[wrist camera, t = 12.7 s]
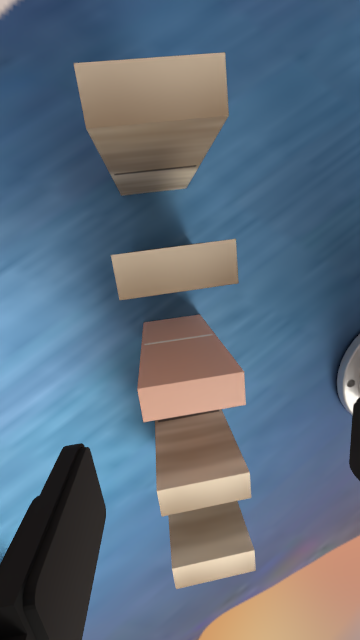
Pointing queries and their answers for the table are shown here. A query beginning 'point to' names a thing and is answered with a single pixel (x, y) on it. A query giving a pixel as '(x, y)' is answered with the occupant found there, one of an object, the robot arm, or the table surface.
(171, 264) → the tile
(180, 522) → the head tile
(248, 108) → the table surface
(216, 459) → the tile
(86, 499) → the robot arm
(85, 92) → the tile
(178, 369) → the tile
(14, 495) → the table surface
